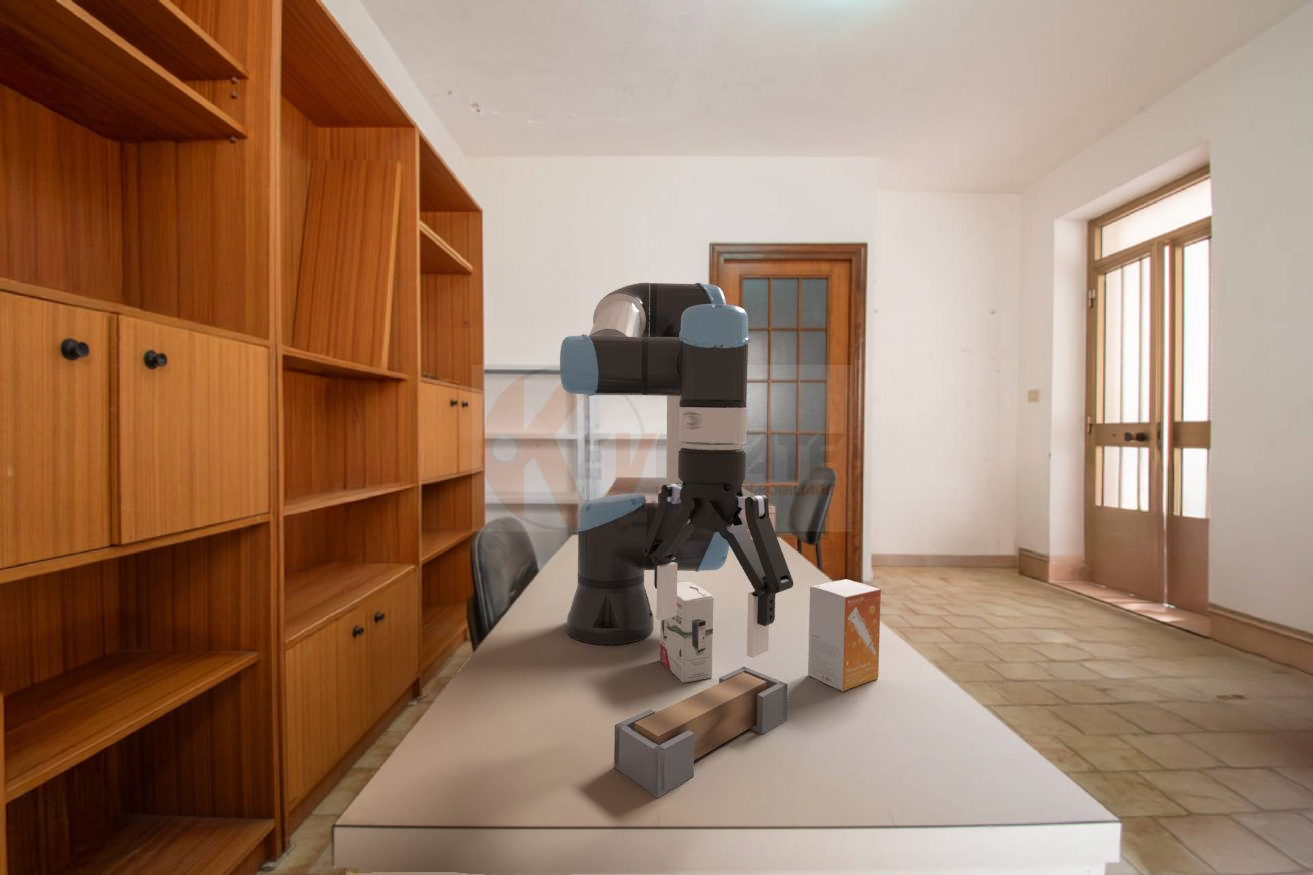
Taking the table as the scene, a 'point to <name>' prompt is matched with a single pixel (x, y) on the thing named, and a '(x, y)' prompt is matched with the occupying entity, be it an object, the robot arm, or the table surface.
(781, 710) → the endcap
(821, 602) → the small box
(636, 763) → the endcap
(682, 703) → the slat
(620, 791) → the table surface
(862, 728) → the table surface
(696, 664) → the ink box
